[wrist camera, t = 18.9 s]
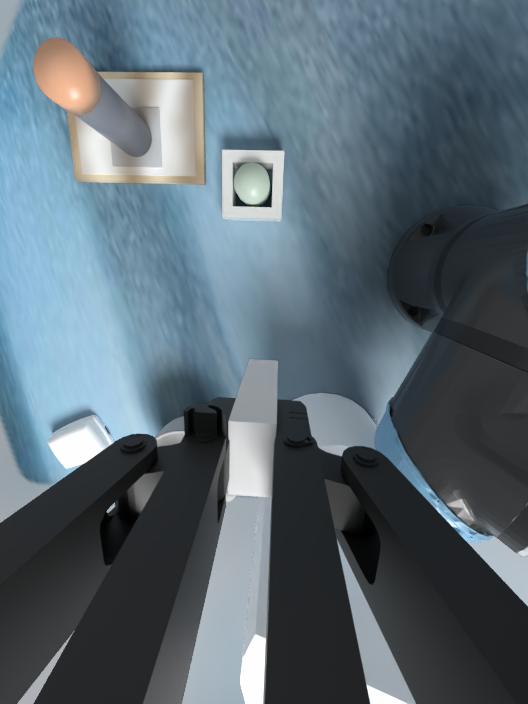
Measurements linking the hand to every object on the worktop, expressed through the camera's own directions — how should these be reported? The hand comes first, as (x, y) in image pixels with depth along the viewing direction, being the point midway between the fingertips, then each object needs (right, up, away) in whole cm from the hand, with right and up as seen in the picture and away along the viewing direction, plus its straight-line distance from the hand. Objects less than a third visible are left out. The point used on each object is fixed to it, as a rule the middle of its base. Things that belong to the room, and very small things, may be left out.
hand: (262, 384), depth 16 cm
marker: (-15, +27, +20) cm, 36 cm away
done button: (-1, +21, +21) cm, 30 cm away
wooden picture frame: (-15, +28, +20) cm, 38 cm away
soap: (-28, -12, +33) cm, 45 cm away
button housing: (-1, +22, +21) cm, 30 cm away
